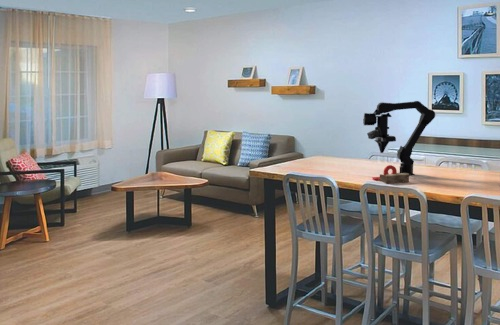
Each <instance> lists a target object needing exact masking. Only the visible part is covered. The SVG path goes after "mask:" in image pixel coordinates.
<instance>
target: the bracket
mask: <svg viewBox="0 0 500 325" xmlns="http://www.w3.org/2000/svg"><path fill="white" fill-rule="evenodd" d="M390 170H391V173H389V171H390ZM396 173H398V172H397V168H396V167H395V165H390V164H388V165H386V166H385V167H384V169H383V175H385V176H386V175H389V174H396ZM372 180H373V181H374V182H375V181H377V182H378V181H379V182H380V176H372Z"/></svg>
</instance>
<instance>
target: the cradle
mask: <svg viewBox="0 0 500 325" xmlns="http://www.w3.org/2000/svg"><path fill="white" fill-rule="evenodd" d="M388 174H389V175H386V176H385V175H384V174H383V173H382V174H379V177H380V180H379V182H381V183H384V184H386V185H391V184H392V185H393V184H402V183H409V181H410V180H409V178H410V175H409V173H401V174H400V172H397V173H396V174H391V173H388Z"/></svg>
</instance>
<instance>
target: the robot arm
mask: <svg viewBox="0 0 500 325" xmlns="http://www.w3.org/2000/svg"><path fill="white" fill-rule="evenodd" d="M410 109H411V110H412V109H415V110H416V111H417V112H418V113H419V114H420V117H419V120H418V123H417V125H416V127H415V129H414V130H413V132H412V134H411V135H410V137H409V138H408V139H407V141H406V144H405V145H403V146H402V145H400V147H399V149H397V154H396V157H397V159H398V160H399V161H400V166H399V173H400V174H401V173H409V176H413V175H415V173H414V163H415V161H414V159H413V158H411V156H412V153H413V149H414V147H415V146H416V143H417V142H418V140H419V139H420V137H421V135H422V133H423V132H424V130H425V129H426V127H427V126H428V125H429V124H431V122H432V121H433V120H434V119H435V117H436V112H435V111H434V110H433V109H431V108H428V107H427V106H426V105H424V104H423V103H422V102H421V101H419V100H414V101H405V102H396V103H395V102H394V103H393V102H384V101H381V102H378V104H377V105H376V108H375V109H374V112H372V113H371V112H370V113H367V112H364V113H363V126H375V125H376V126H375V127H374V129H373V130H371V131H369V132H367V138H368V139H370V140H374V142H375V143H377V146H378V148H379V152H380V154H383V153H384V151H385V150H386V147H387V146H388V144H389V143H391V142H396V141H397V137H396V136H394V135H390V134H389V133H388V131H389V129H390V126H388V124H389V123H388V122H389V118H392V115H391V114H390V112H394V111H399V110H410Z"/></svg>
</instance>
